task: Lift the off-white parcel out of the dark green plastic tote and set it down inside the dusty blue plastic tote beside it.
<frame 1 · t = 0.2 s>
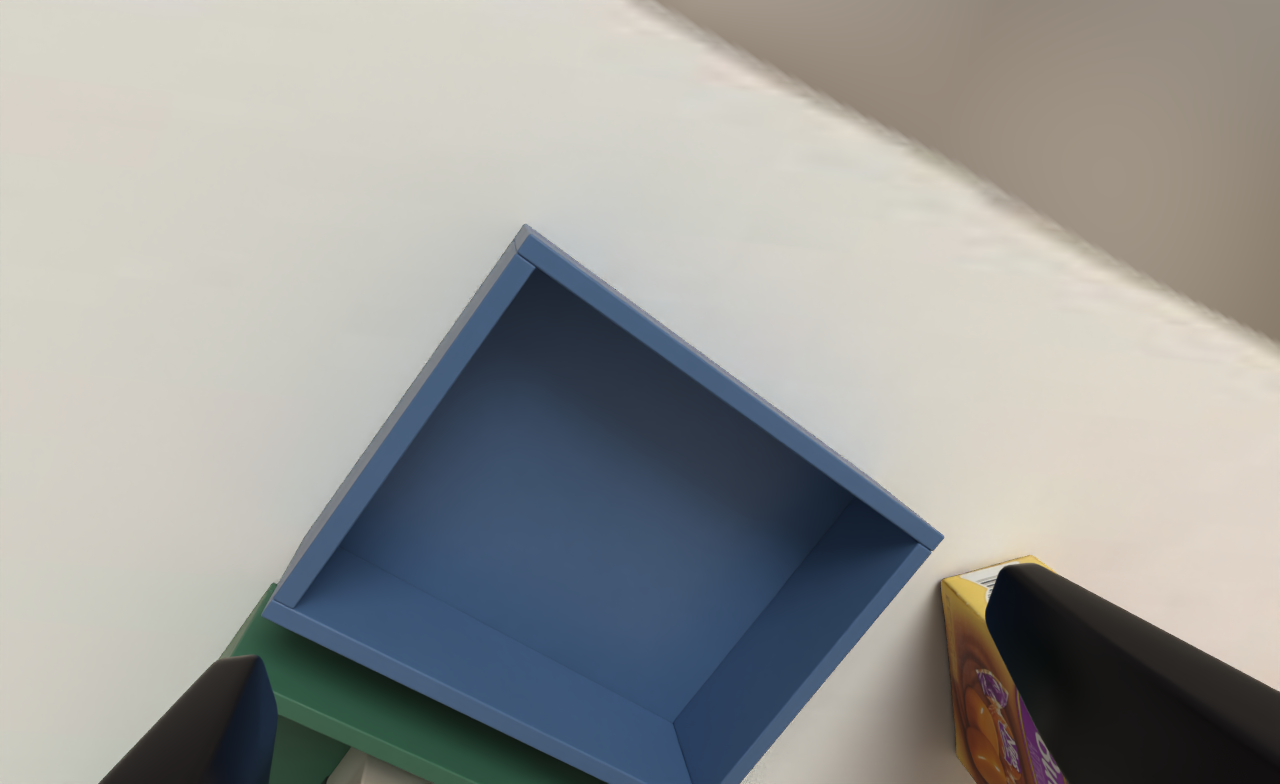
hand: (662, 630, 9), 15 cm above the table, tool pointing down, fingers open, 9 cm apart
blue tote: (607, 507, 25), on the table
candy box: (983, 655, 30), on the table
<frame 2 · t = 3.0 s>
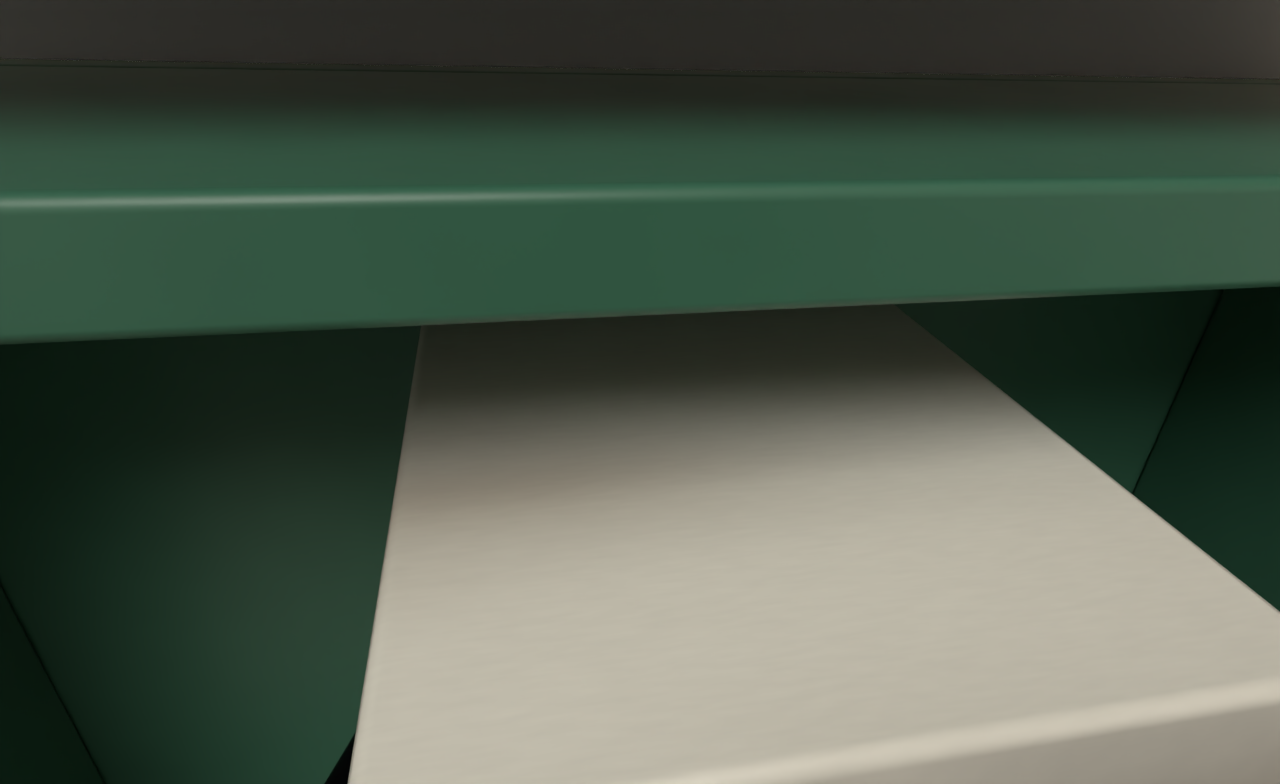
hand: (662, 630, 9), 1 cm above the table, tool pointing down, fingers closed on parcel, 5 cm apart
parcel: (648, 585, 10), point 1 cm above the table, touching green tote, gripper
green tote: (639, 556, 10), on the table
when the fingers open (1 cm above the table, at t = 8.9 s): parcel stays where it is, resting on blue tote.
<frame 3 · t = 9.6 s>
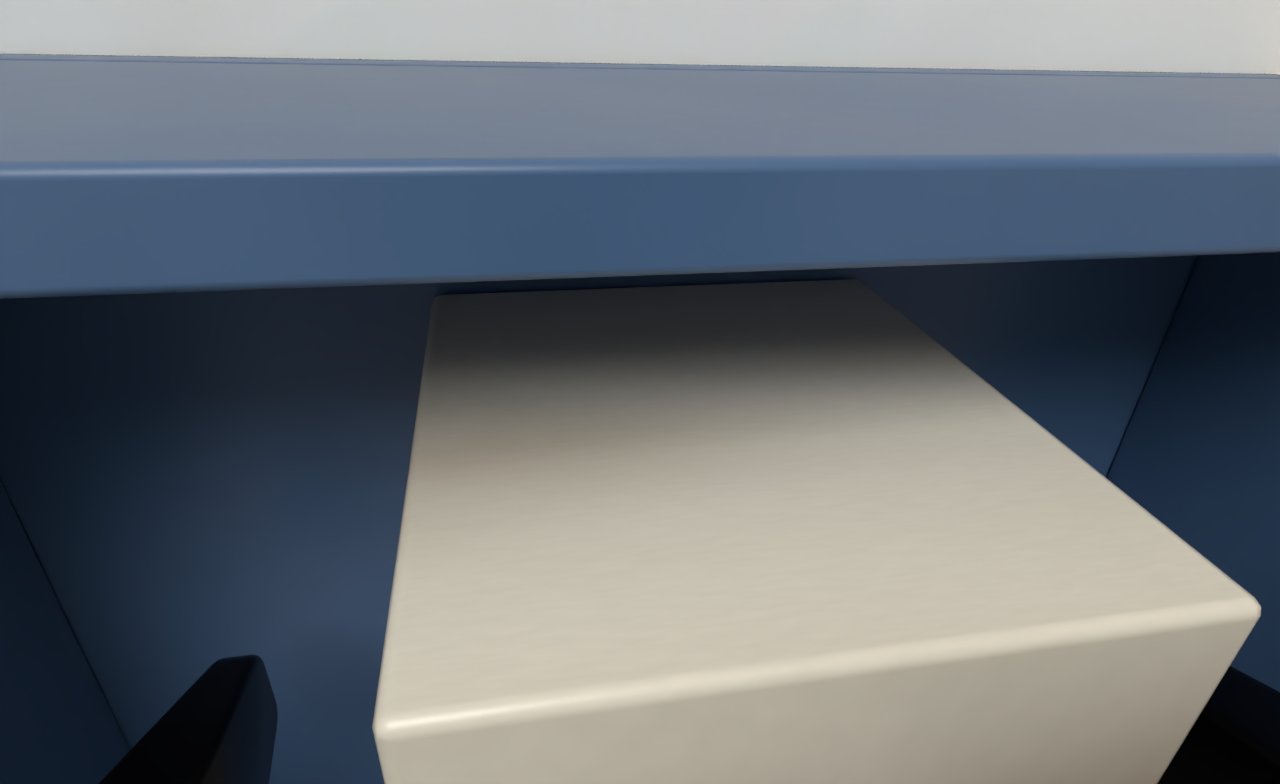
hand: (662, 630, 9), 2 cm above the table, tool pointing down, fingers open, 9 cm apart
blue tote: (636, 531, 10), on the table
parcel: (644, 560, 10), point 1 cm above the table, touching blue tote
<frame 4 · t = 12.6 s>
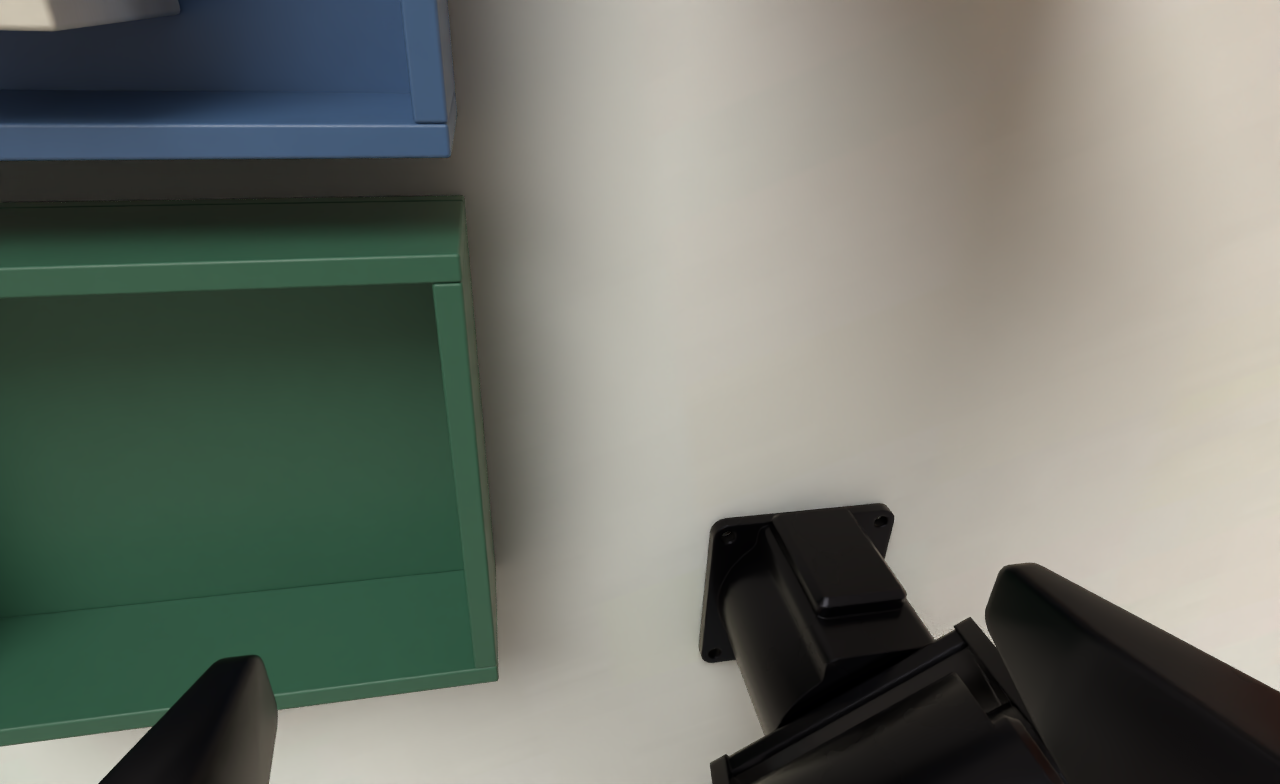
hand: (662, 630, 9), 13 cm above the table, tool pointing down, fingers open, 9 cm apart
green tote: (192, 427, 20), on the table
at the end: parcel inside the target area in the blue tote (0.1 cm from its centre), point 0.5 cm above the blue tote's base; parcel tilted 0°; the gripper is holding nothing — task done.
